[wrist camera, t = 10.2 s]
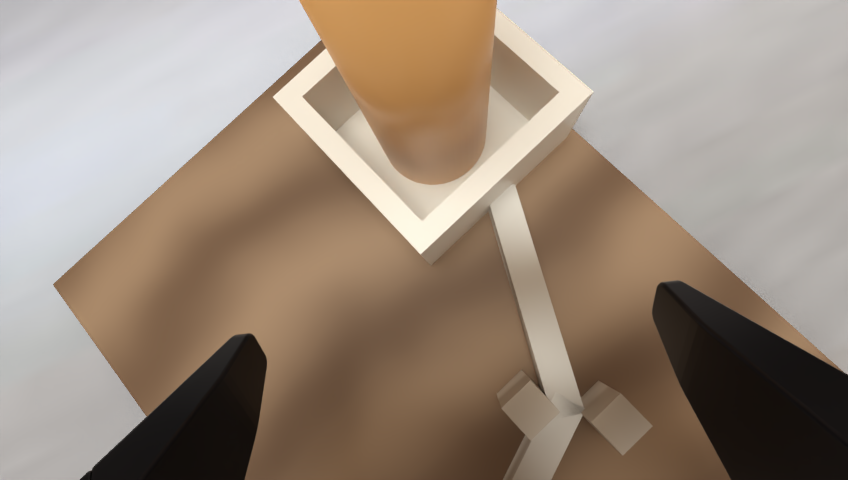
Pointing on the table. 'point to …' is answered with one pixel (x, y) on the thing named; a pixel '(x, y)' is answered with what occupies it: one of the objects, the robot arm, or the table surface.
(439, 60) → the tan cylinder
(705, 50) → the table surface
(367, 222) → the cable board
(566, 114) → the end holder
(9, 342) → the table surface
